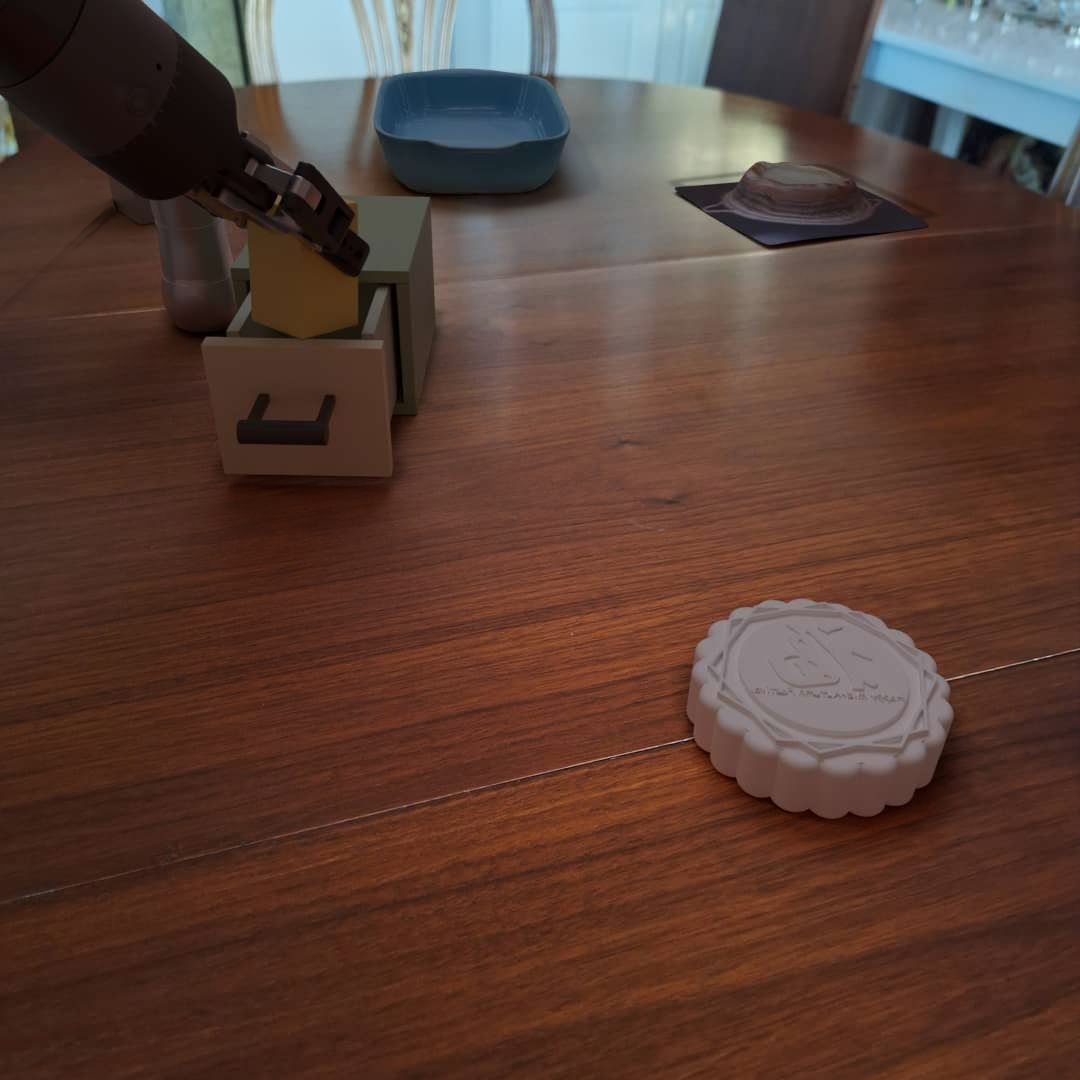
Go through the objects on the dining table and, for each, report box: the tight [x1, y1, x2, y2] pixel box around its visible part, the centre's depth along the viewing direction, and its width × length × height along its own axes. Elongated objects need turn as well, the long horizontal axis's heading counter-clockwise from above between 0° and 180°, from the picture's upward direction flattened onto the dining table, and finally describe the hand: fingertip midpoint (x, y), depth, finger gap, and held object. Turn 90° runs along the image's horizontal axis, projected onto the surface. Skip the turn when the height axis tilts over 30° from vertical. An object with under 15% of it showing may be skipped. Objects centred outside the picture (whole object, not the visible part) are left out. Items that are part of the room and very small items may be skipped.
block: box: [246, 195, 358, 339], centre depth 62 cm, size 5×5×8 cm
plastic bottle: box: [149, 195, 237, 333], centre depth 81 cm, size 6×7×20 cm
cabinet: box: [230, 194, 437, 416], centre depth 78 cm, size 16×12×11 cm
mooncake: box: [686, 598, 955, 820], centre depth 49 cm, size 12×12×4 cm
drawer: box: [200, 283, 402, 478], centre depth 67 cm, size 20×11×9 cm, turn 0°
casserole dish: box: [373, 68, 571, 195], centre depth 125 cm, size 37×22×7 cm, turn 5°
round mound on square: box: [674, 160, 930, 246], centre depth 114 cm, size 21×20×4 cm
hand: (329, 252), depth 64 cm, fingers closed on block, 4 cm apart
